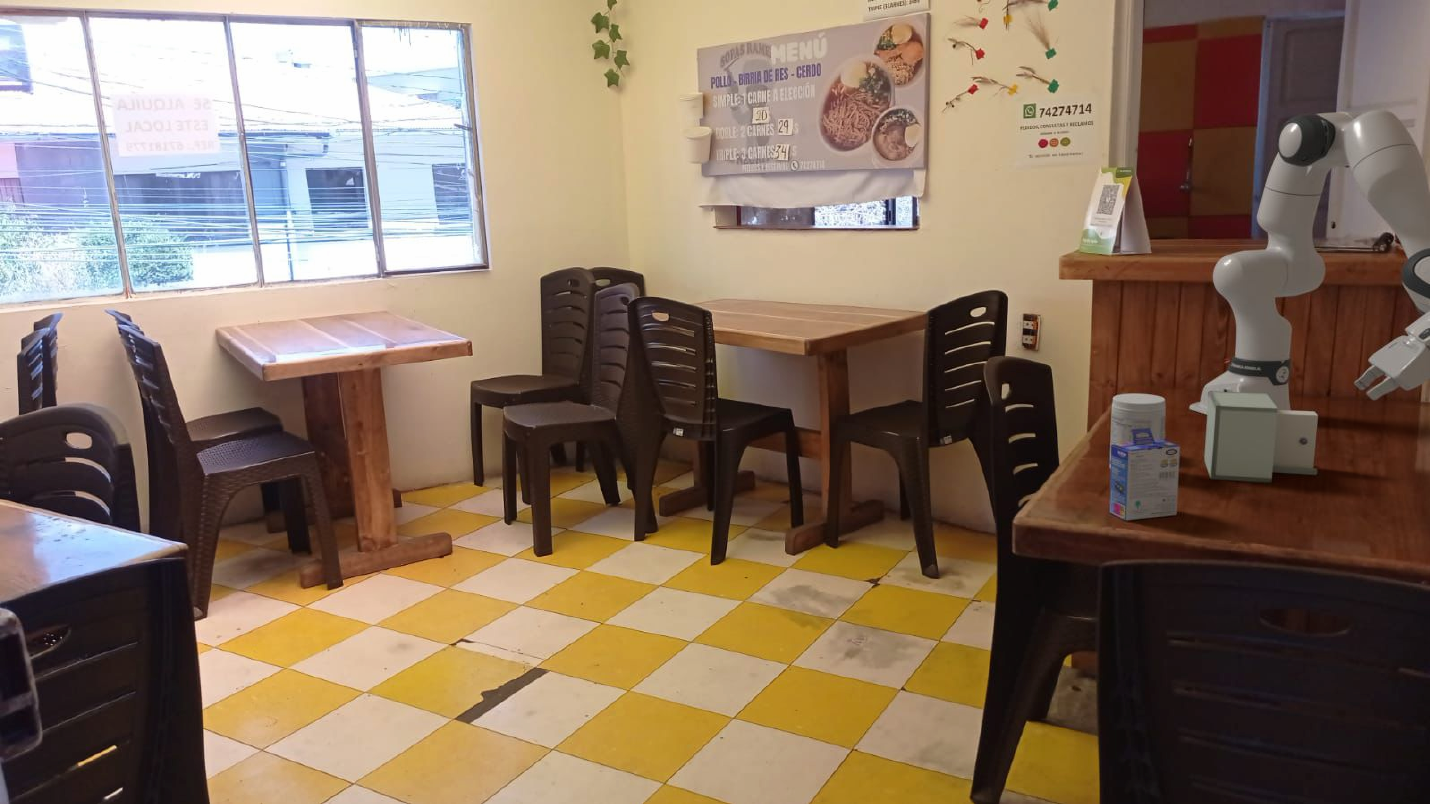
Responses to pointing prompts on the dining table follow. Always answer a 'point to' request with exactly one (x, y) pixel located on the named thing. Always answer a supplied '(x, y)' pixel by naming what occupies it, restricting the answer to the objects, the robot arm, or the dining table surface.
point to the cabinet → (1243, 438)
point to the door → (1295, 438)
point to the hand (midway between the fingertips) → (1363, 391)
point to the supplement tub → (1136, 417)
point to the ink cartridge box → (1144, 477)
